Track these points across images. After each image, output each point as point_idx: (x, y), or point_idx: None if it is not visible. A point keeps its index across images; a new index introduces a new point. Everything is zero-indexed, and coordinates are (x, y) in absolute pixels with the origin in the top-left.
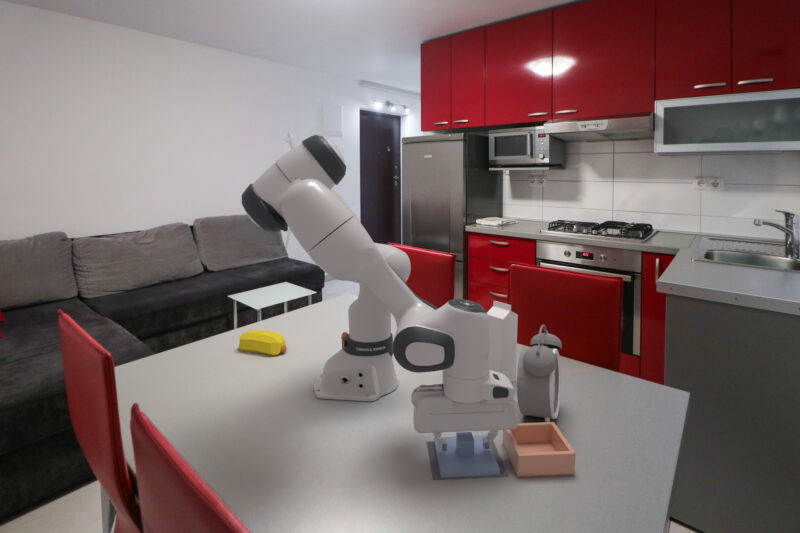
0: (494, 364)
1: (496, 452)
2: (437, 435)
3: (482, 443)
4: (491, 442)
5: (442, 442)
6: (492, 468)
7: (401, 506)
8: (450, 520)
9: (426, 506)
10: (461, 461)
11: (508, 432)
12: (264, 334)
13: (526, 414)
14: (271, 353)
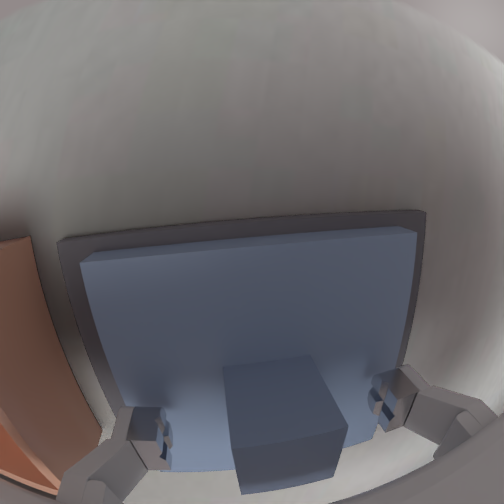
0: None
1: (114, 401)
2: (474, 411)
3: (172, 438)
4: (113, 435)
5: (417, 399)
6: (119, 271)
7: (486, 110)
8: (361, 5)
9: (437, 86)
10: (302, 325)
11: (42, 466)
12: None
13: (53, 498)
14: None
